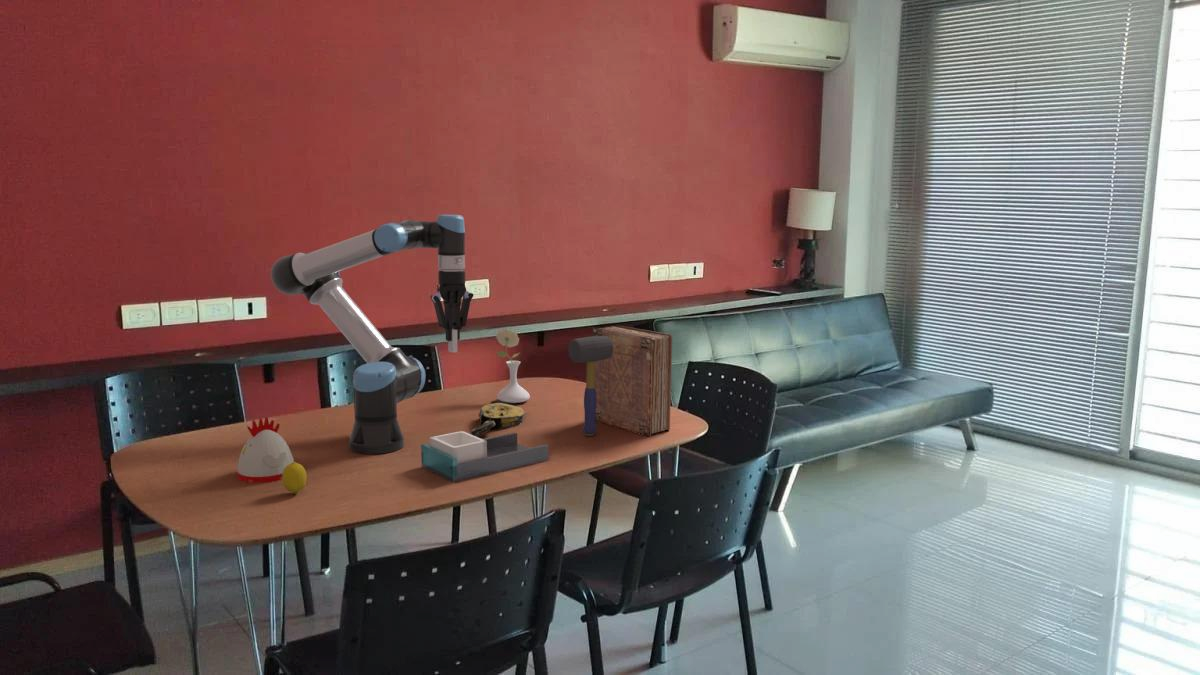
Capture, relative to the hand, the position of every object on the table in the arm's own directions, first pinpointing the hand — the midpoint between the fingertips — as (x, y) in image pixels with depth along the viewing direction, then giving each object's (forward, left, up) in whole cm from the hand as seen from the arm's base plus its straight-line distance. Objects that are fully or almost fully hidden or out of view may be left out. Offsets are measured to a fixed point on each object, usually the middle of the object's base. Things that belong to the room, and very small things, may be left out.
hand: (452, 351), depth 259 cm
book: (+55, +4, -27) cm, 61 cm away
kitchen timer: (-50, -20, -27) cm, 60 cm away
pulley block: (+14, +12, -27) cm, 33 cm away
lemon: (-42, -37, -27) cm, 62 cm away
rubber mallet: (+40, -4, -27) cm, 48 cm away
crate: (-2, -27, -25) cm, 37 cm away
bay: (+6, -24, -26) cm, 36 cm away
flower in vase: (+24, +42, -27) cm, 55 cm away
